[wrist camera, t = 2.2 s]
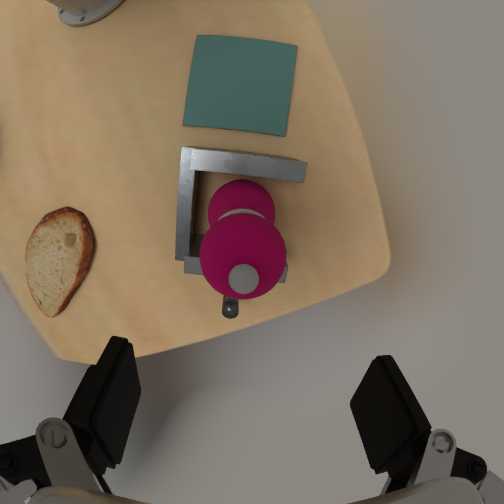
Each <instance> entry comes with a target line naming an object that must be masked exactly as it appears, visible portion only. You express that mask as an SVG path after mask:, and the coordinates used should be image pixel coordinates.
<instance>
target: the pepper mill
mask: <svg viewBox="0 0 504 504" xmlns="http://www.w3.org/2000/svg"><path fill="white" fill-rule="evenodd" d="M208 220H209V224H210V228H209V230H208V231H207V233H206V234H205V236H204V238H203V240H202V243H201V248H200V265H201V268H202V272H203V274H204V276H205V278H206V280H207V281H208V282H209V284H210V285H211V286H212V287H213V288H214V289H215V290H216V291H218V292H219V293H221V294H223V295H225V296H228V297H231V298H235V299H252V298H255V297H259V296H261V295H263V294H265V293H267V292H268V291H269V290H271V289H272V288H273V287H274V286H275V285H276V284H277V282H278V281H279V279H280V278H281V276H282V274H283V271H284V269H285V264H286V248H285V243H284V240H283V238H282V236H281V234H280V233H279V231H278V230H277V229H276V227H275V226H274V225H273V224H274V221H275V208H274V203H273V200H272V198H271V196H270V195H269V193H268V192H267V191H266V190H265V189H264V188H263V187H262V186H260V185H259V184H257V183H255V182H252V181H249V180H243V179H239V180H234V181H231V182H229V183H227V184H224V185H223V186H222V187H220V188H219V189H218V190H217V191H216V192H215V194H214V195H213V196H212V198H211V201H210V204H209V208H208Z"/></svg>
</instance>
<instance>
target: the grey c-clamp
mask: <svg viewBox="0 0 504 504" xmlns="http://www.w3.org/2000/svg"><path fill="white" fill-rule="evenodd" d="M306 167H307V163H305V162H302V161H299V160H297V159H294V158H288V157H282V156H275V155H268V154H261V153H253V152H245V151H236V150H227V149H217V148H205V147H192V146H187V147H182V152H181V163H180V175H179V188H178V203H177V222H176V250H175V260H180V261H184V273H188V274H197V275H204V274H203V272H202V268H201V265H200V248H201V243H202V240H203V238H204V236H205V235H199V234H194V231H195V216H196V203H197V191H198V180H199V170H200V171H211V172H222V173H231V174H240V175H249V176H257V177H265V178H272V179H279V180H286V181H293V182H299V183H304V179H305V173H306ZM287 270H288V265H287V262H286V264H285V269H284V271H283V274H282V276H281V278H280V279H279V281H278V282H279V283H285V280H286V275H287ZM238 312H239V307H238V299H235V298H231V297H228V296H225V295H224V297H223V306H222V314H223V315H224V316H225V317H226V318H229V319H232V318H235V317H236V316H237V315H238Z"/></svg>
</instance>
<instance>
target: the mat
mask: <svg viewBox="0 0 504 504" xmlns="http://www.w3.org/2000/svg"><path fill="white" fill-rule="evenodd" d="M297 47H298V46H296V45H291V44H286V43H280V42H274V41H267V40H260V39H252V38H243V37H232V36H218V35H197V38H196V43H195V48H194V53H193V59H192V64H191V70H190V76H189V82H188V89H187V96H186V103H185V110H184V118H183V126H198V127H212V128H223V129H233V130H242V131H251V132H258V133H266V134H273V135H279V136H285V133H286V127H287V120H288V113H289V106H290V98H291V91H292V84H293V77H294V69H295V62H296V54H297Z"/></svg>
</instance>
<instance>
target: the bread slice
mask: <svg viewBox="0 0 504 504" xmlns="http://www.w3.org/2000/svg"><path fill="white" fill-rule="evenodd" d="M92 251H93V237H92V232H91V228H90V226H89V223H88V220H87V217H86V215H85V214H84V213H82V212H80V211H78V210H76V209H74V208H71V207H64V208H61V209H58V210H56V211H53V212H50V213H48V214H46V215H45V216H44V217H43V218H42V219H41V221H40V222H39V224H38V225H37V226H36V227H35V229H34V231H33V233H32V234H31V236H30V239H29V241H28V243H27V248H26V253H25V260H26V265H27V273H26V276H27V282H28V286H29V289H30V292H31V295H32V297H33V299H34V301H35V303H36V305H37V306H38V308H39V309H40V310H41V311H42V312H43V313H44V314H45V315H46V316H47V317H55V316H57V315H59V314H60V313H61V312H62V311H63V310H64V309H65V308H66V306H67V304H68V303H69V301H70V299H71V298H72V296H73V295H74V293H75V292H76V290H77V289H78V287H79V285H80V284H81V282H82V280H83V278H84V276H85V275H86V273H87V270H88V264H89V261H90V259H91V255H92Z"/></svg>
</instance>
